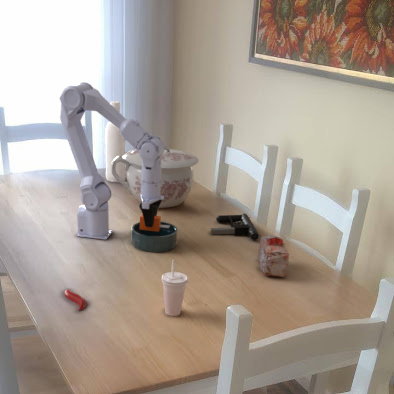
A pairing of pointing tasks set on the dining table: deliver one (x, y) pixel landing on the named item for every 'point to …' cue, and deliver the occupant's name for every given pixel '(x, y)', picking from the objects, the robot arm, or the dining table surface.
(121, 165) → the bottle
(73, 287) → the dining table surface
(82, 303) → the cayenne pepper
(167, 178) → the chamber pot
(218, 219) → the machine pistol
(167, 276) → the smoothie
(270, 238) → the food item
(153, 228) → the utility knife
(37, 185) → the dining table surface
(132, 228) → the bowl
